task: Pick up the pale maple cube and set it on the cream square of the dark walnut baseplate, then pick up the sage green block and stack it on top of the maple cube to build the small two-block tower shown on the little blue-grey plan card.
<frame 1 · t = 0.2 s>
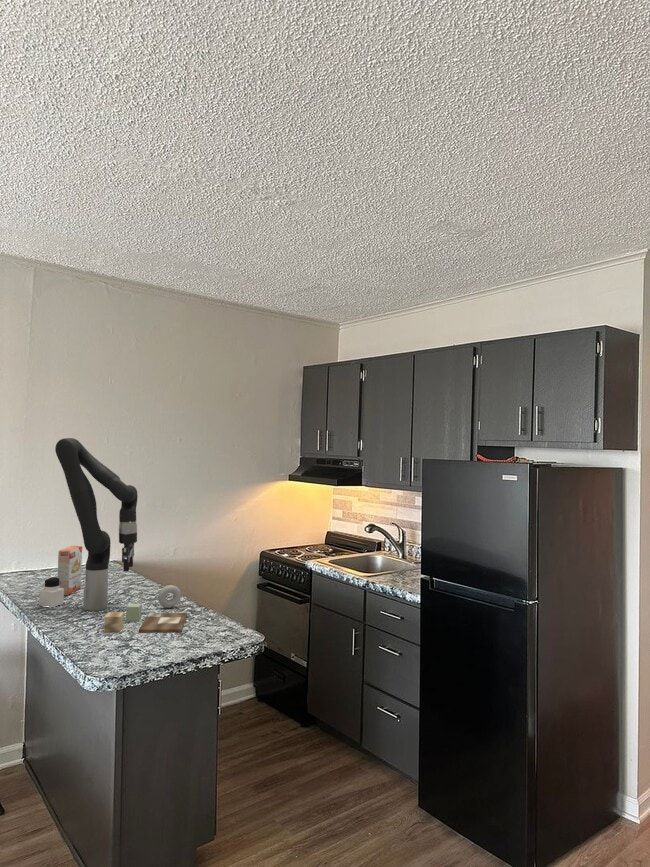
hand: (128, 569, 266), 17 cm above the counter, tool pointing down, fingers open, 8 cm apart
medicine bottle: (51, 606, 268), on the counter
sage block: (133, 619, 251), on the counter
cracker box: (69, 592, 291), on the counter
maple block: (113, 630, 237), on the counter
baseplate: (164, 623, 246), on the counter
donut: (169, 608, 269), on the counter
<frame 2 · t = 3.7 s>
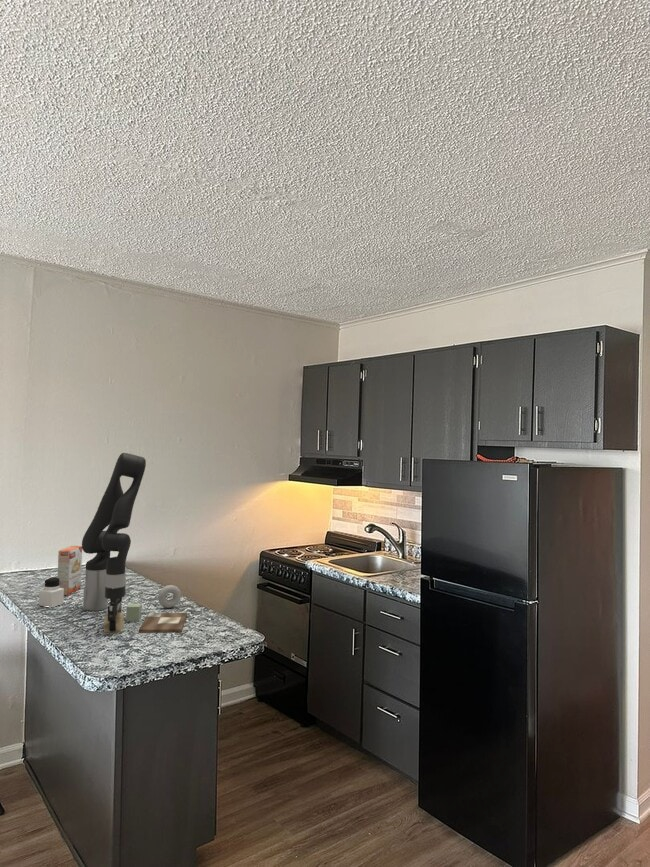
hand: (114, 628, 237), 1 cm above the counter, tool pointing down, fingers closed on maple block, 6 cm apart
maple block: (114, 629, 237), on the counter, touching gripper
everything else where it was.
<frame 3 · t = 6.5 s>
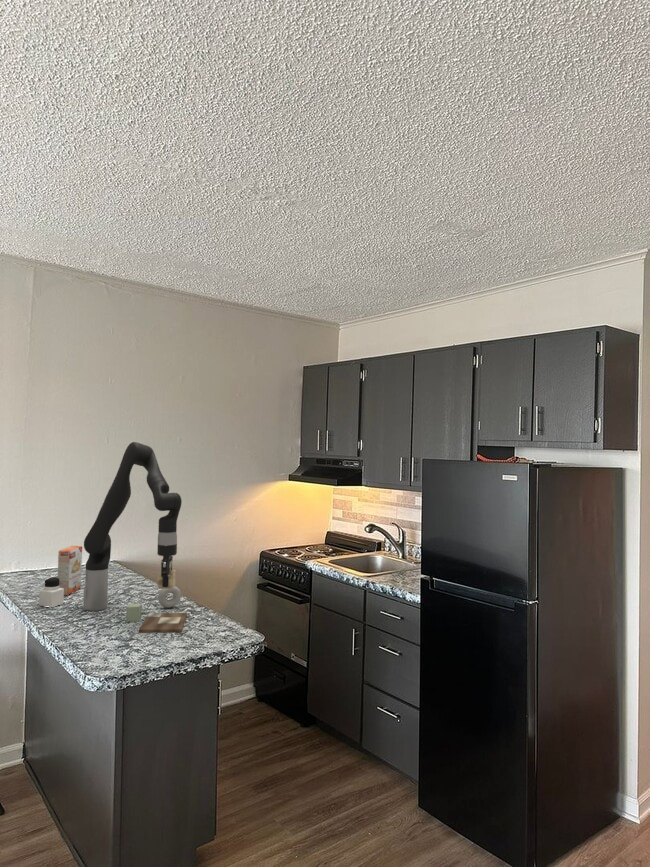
hand: (166, 584, 246), 16 cm above the counter, tool pointing down, fingers closed on maple block, 6 cm apart
maple block: (166, 586, 246), point 15 cm above the counter, touching gripper
everything else where it was.
when the fingers open (3 cm above the counter, at t = 9.6 s): maple block drops 1 cm, resting on baseplate.
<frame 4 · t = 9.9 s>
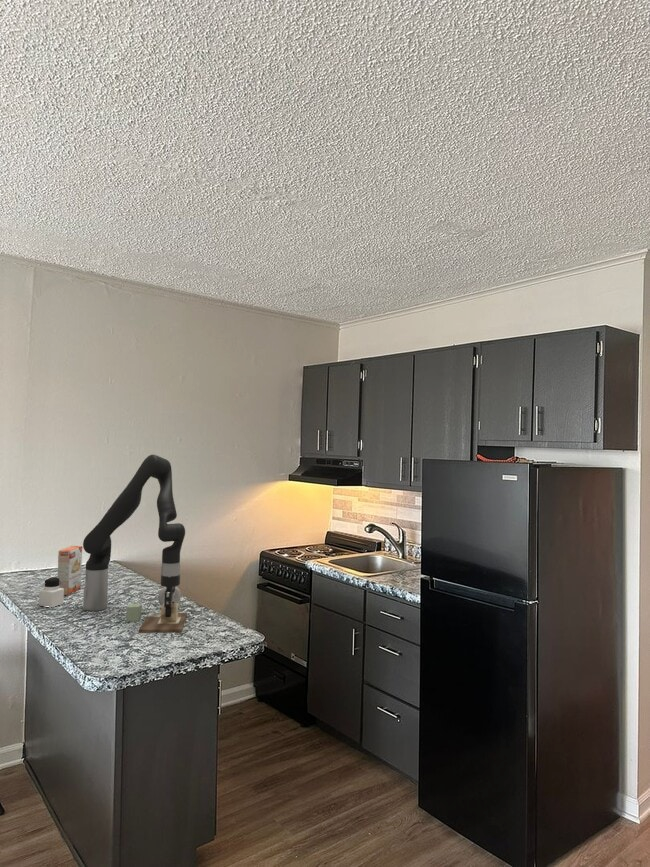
hand: (169, 613, 247), 4 cm above the counter, tool pointing down, fingers open, 8 cm apart
maple block: (169, 620, 247), point 1 cm above the counter, touching baseplate
everything else where it was.
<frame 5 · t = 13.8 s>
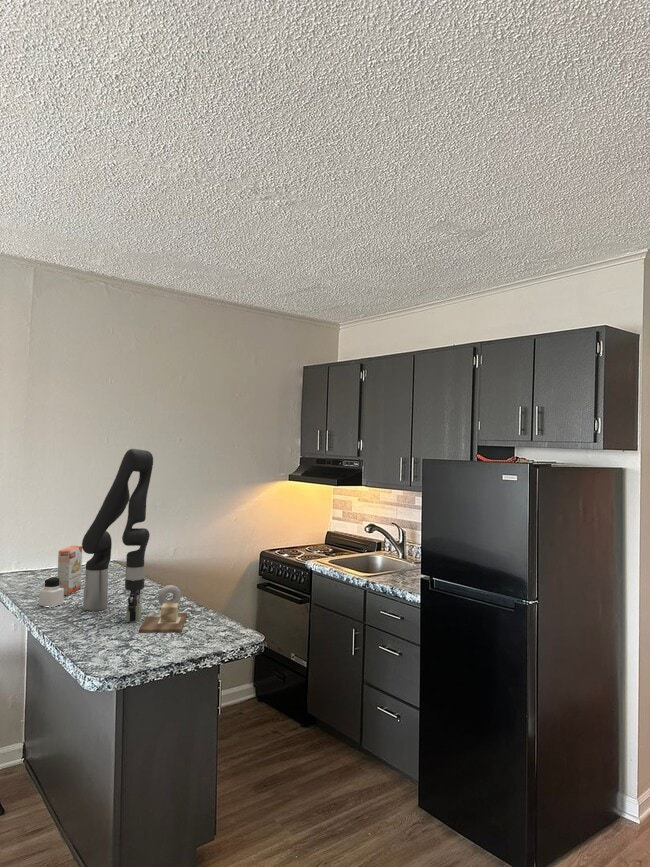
hand: (133, 618, 251), 0 cm above the counter, tool pointing down, fingers closed on sage block, 5 cm apart
sage block: (133, 619, 251), on the counter, touching gripper
everything else where it was.
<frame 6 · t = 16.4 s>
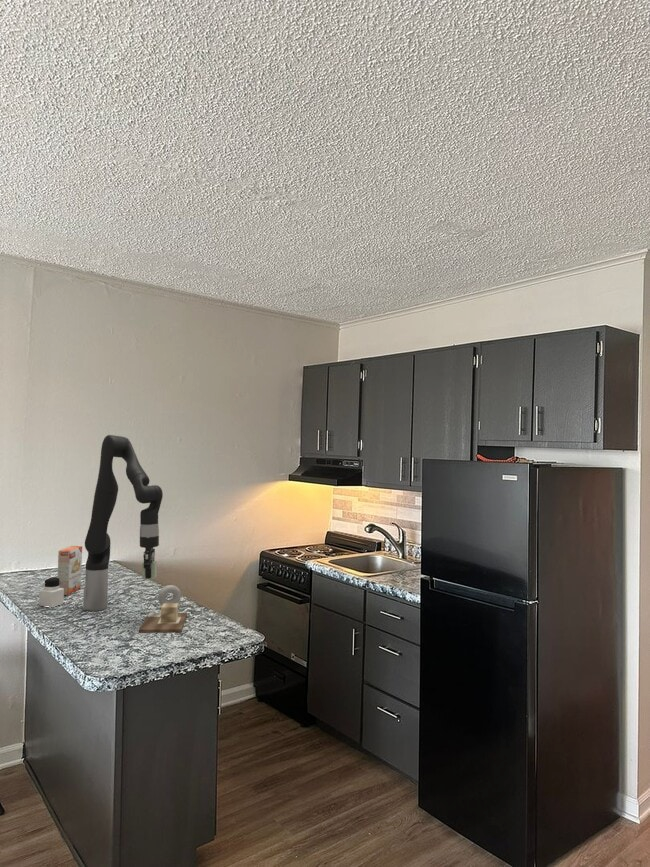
hand: (149, 576, 249), 18 cm above the counter, tool pointing down, fingers closed on sage block, 5 cm apart
sage block: (149, 577, 249), point 18 cm above the counter, touching gripper
everything else where it was.
when the fingers open (9 cm above the counter, at t = 19.0 s): sage block drops 1 cm, resting on maple block.
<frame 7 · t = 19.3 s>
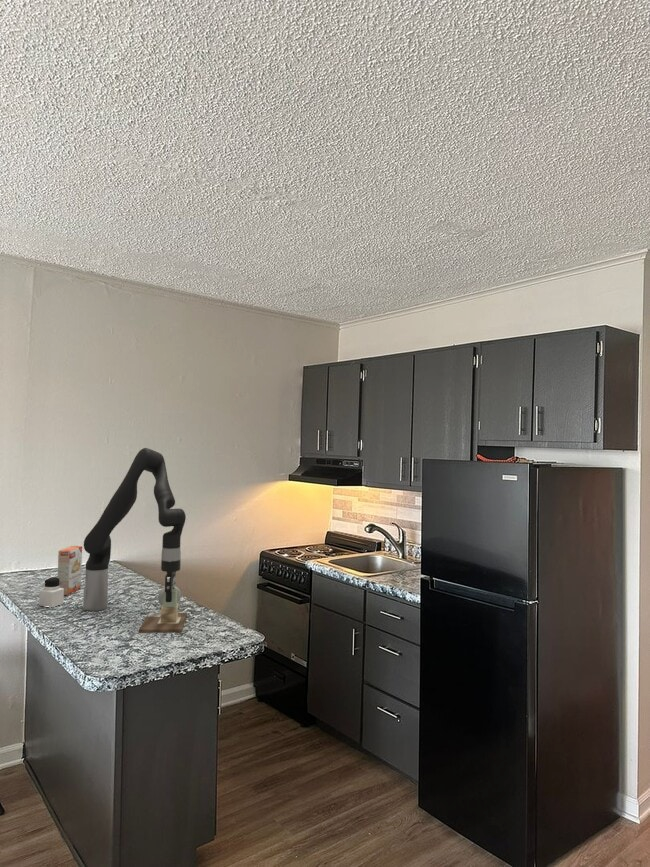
hand: (169, 599, 247), 10 cm above the counter, tool pointing down, fingers open, 7 cm apart
sage block: (169, 605, 247), point 7 cm above the counter, touching maple block
maple block: (169, 620, 247), point 1 cm above the counter, touching baseplate, sage block
everything else where it was.
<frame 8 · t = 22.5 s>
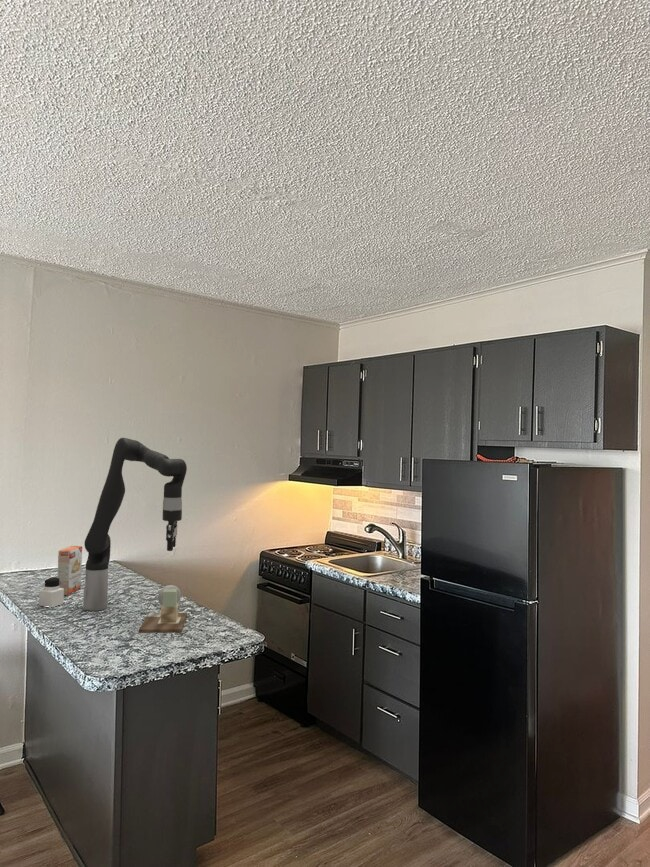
hand: (171, 548, 247), 30 cm above the counter, tool pointing down, fingers open, 8 cm apart
nothing on the counter moved.
at the end: maple block 0.0 cm from the target spot on the baseplate, point 1.4 cm above the baseplate's base; sage block 0.1 cm off-centre on the maple block, point 6.0 cm above the maple block's base; sage block tilted 0° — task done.
